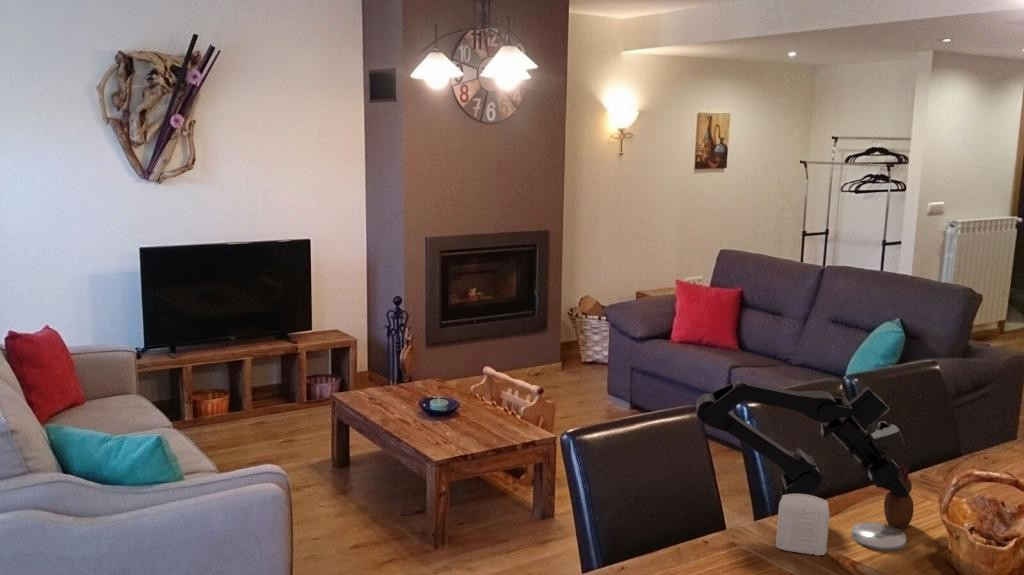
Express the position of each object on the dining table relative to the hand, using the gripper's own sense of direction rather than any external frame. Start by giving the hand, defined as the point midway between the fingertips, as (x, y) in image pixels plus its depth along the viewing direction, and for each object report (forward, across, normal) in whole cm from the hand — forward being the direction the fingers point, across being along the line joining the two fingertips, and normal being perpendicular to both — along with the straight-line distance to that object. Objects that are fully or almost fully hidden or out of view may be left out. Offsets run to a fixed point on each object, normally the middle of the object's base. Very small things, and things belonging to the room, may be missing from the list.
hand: (901, 487), depth 203 cm
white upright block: (-11, -17, +23) cm, 31 cm away
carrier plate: (+2, -9, +11) cm, 14 cm away
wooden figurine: (+6, 0, +7) cm, 9 cm away
